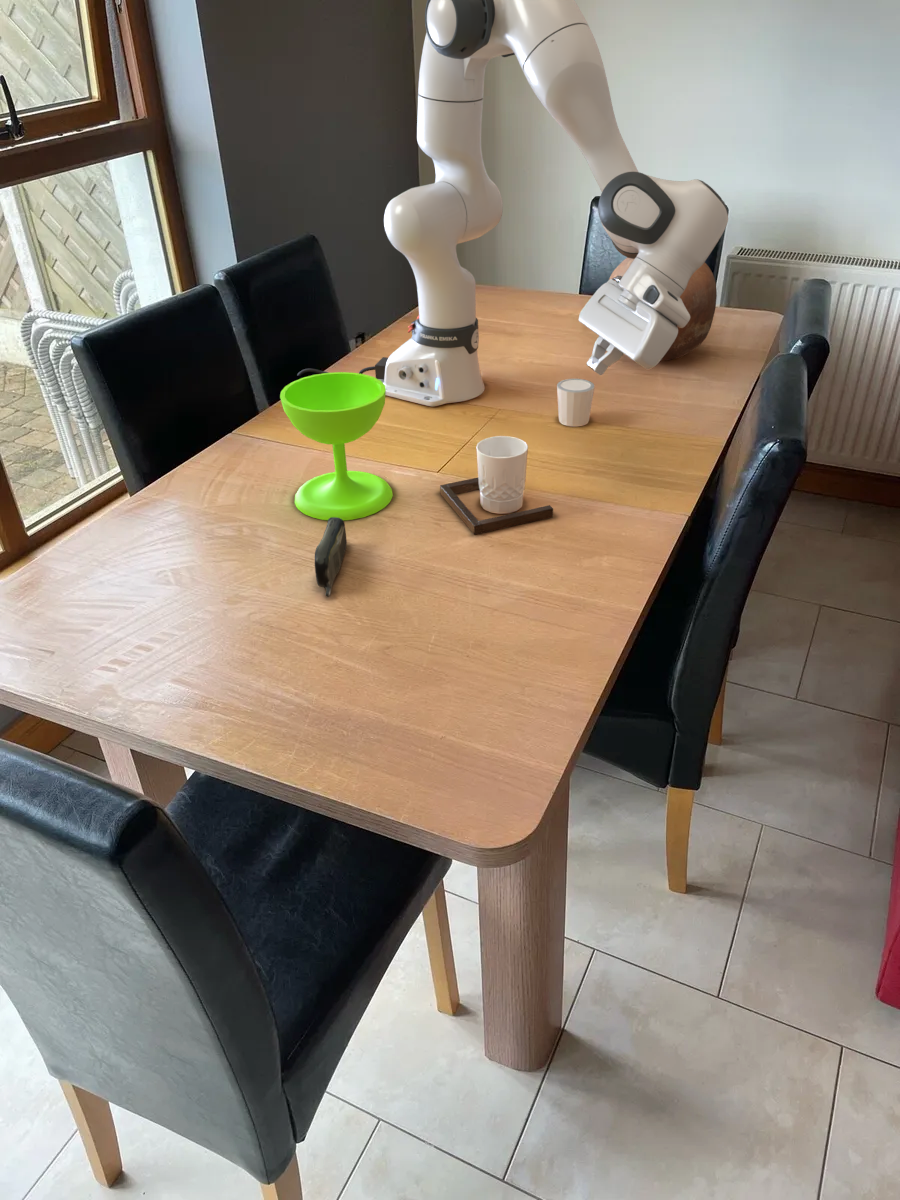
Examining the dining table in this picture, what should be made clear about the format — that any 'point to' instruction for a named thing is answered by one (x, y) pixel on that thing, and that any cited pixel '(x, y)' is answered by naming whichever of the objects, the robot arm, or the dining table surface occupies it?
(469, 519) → the walnut frame
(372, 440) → the dining table surface
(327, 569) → the mobile phone
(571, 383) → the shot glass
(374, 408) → the wineglass
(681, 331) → the pottery
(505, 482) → the white cup
